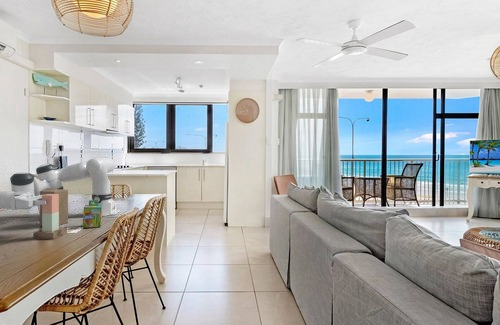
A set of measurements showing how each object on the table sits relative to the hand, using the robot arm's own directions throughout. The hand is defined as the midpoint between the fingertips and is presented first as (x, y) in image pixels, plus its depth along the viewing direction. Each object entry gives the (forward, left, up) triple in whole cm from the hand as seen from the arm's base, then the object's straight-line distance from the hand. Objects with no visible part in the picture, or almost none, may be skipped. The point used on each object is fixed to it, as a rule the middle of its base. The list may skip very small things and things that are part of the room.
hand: (52, 201), depth 150 cm
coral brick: (0, -1, -6) cm, 6 cm away
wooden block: (-24, -16, -18) cm, 34 cm away
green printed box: (-22, +8, -18) cm, 29 cm away
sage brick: (0, -1, -15) cm, 15 cm away
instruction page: (-12, +2, -18) cm, 22 cm away
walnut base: (0, -1, -18) cm, 18 cm away
